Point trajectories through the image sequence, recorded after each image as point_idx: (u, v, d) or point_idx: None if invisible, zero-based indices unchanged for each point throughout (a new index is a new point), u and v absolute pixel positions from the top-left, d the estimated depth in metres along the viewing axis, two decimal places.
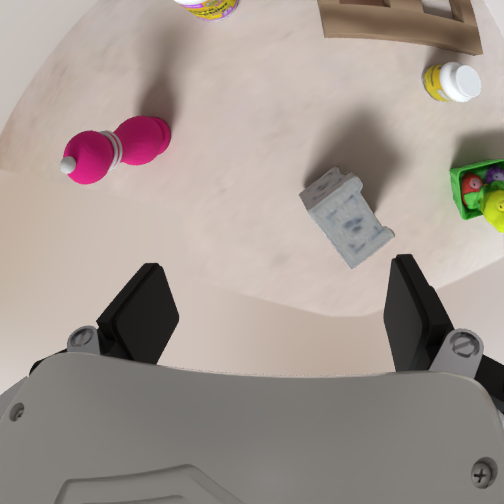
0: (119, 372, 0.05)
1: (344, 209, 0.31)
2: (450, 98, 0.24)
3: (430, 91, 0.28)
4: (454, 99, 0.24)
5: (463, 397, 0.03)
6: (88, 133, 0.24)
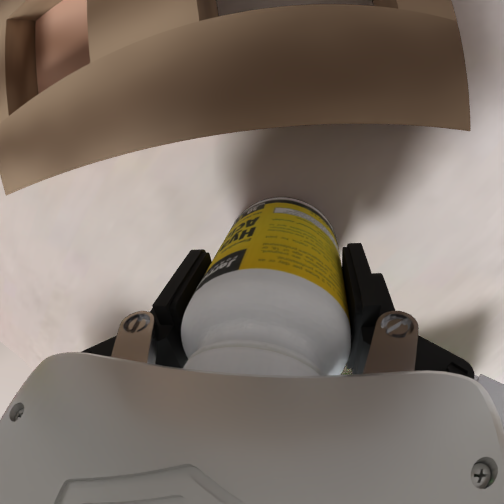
0: (119, 372, 0.05)
1: None
2: None
3: None
4: None
5: (463, 397, 0.03)
6: None
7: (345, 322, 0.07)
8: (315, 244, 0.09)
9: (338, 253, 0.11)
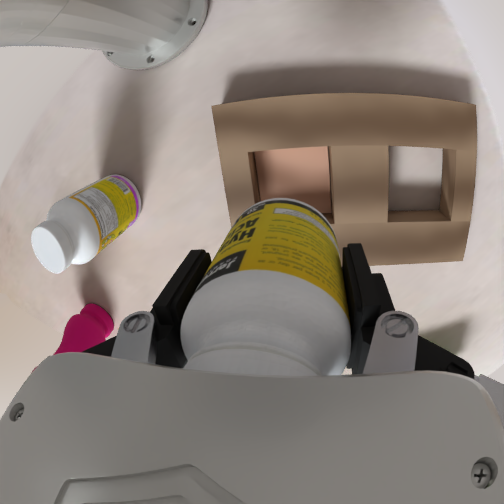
0: (119, 372, 0.05)
1: None
2: None
3: None
4: None
5: (463, 397, 0.03)
6: None
7: (345, 323, 0.07)
8: (314, 245, 0.09)
9: (338, 254, 0.11)
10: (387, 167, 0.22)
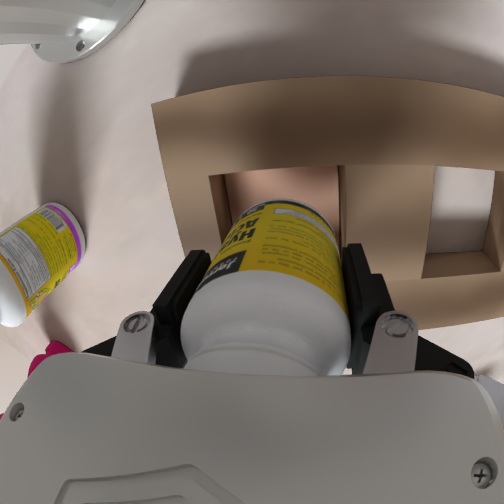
0: (119, 372, 0.05)
1: None
2: None
3: None
4: None
5: (463, 397, 0.03)
6: None
7: (345, 324, 0.07)
8: (315, 245, 0.09)
9: (338, 254, 0.11)
10: (430, 199, 0.13)
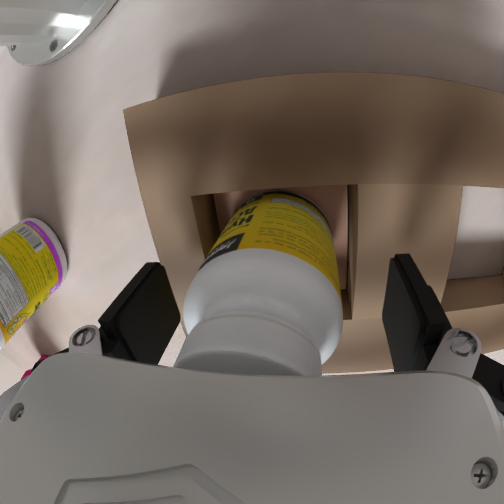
0: (119, 372, 0.05)
1: None
2: None
3: None
4: None
5: (463, 397, 0.03)
6: None
7: (336, 299, 0.08)
8: (308, 229, 0.10)
9: (332, 241, 0.12)
10: (455, 225, 0.10)
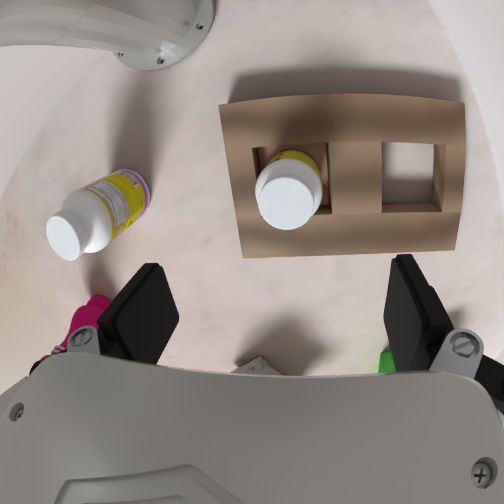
0: (119, 372, 0.05)
1: None
2: None
3: None
4: None
5: (463, 397, 0.03)
6: None
7: (318, 177, 0.21)
8: (306, 158, 0.23)
9: (318, 169, 0.25)
10: (380, 161, 0.23)
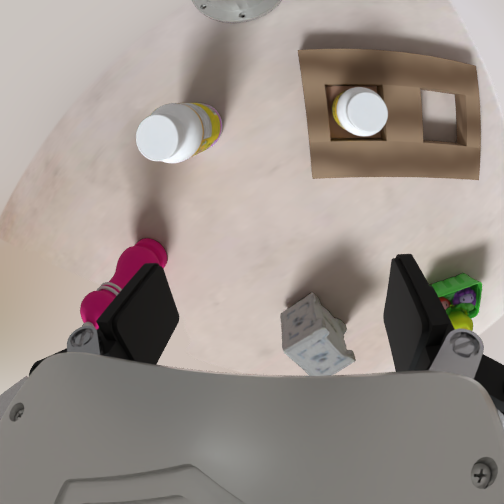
0: (119, 372, 0.05)
1: (313, 349, 0.38)
2: (352, 133, 0.27)
3: None
4: (355, 134, 0.26)
5: (463, 397, 0.03)
6: (98, 300, 0.31)
7: None
8: None
9: None
10: (420, 102, 0.26)
